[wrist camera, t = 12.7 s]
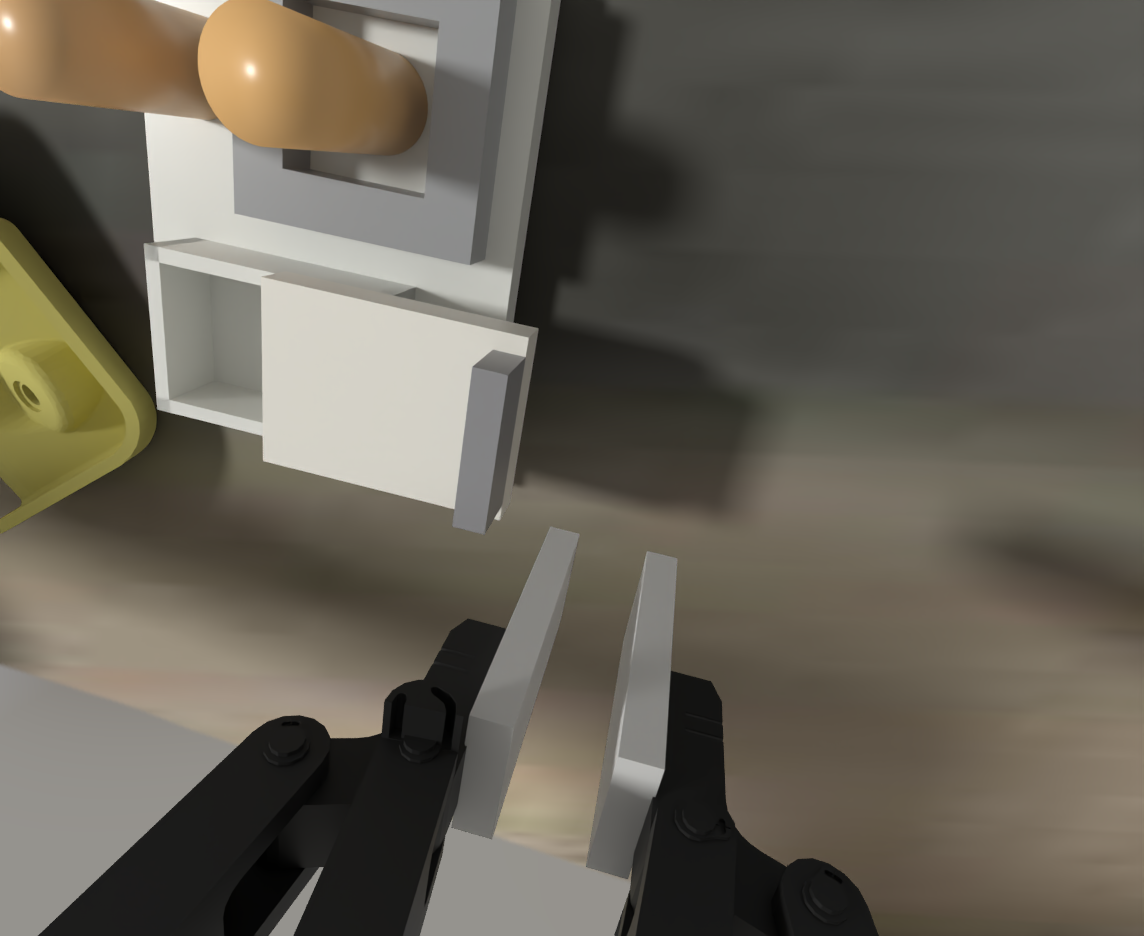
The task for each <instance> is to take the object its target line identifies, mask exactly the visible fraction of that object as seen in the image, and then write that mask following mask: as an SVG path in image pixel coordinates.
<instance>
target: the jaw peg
mask: <svg viewBox="0 0 1144 936" xmlns="http://www.w3.org/2000/svg"><path fill="white" fill-rule="evenodd" d="M198 71H199V77H200V81H201V85H202V88H203V91H204V94H205V96H206V99H207V101H208V103H209V105H210V107H211V108H212V110H213V112H214V113H215V115H216V116H217V118H218V119H219V120H220V121H221V122H222V124H223V125H224V126H225V127H226V128H227V129H228V130H229V131H231V132H232V133H233V134H234V135H236V136H237V137H238V138H240V139H242V140H244V141H246V142H248V143H250V144H253V145H257V146H261V147H270V148H285V149H299V150H313V151H327V152H341V153H356V154H370V155H384V156H391V155H397V154H400V153H402V152H404V151H406V150H408V149H409V148H411V147H412V146H413V145H414V144H415V143H416V142H417V140H418V139H419V138H420V136H421V134H422V132H423V130H424V127H425V125H426V120H427V114H428V101H427V94H426V90H425V87H424V84H423V82H422V79H421V77H420V76H419V74H418V72H417V71H416V69H415V68H414V67H413V65H412V64H411V63H410V62H409V61H408V60H406V59H405V58H404V57H403V56H401V55H399V54H398V53H396V52H393V51H391V50H388V49H386V48H383V47H381V46H379V45H376V44H374V43H371V42H369V41H366V40H364V39H362V38H359V37H357V36H354V35H352V34H349V33H347V32H345V31H342V30H340V29H337V28H335V27H332V26H330V25H327V24H325V23H323V22H320V21H318V20H315V19H313V18H310V17H308V16H306V15H303V14H301V13H298V12H296V11H293V10H291V9H289V8H286V7H284V6H281V5H279V4H276V3H274V2H272V1H269V0H228V1H226V2H224V3H223V4H222V5H220V6H219V7H218V8H217V9H216V10H215V11H214V12H213V13H212V14H211V16H210V17H209V18H208V20H207V22H206V24H205V26H204V28H203V30H202V33H201V36H200V41H199V46H198Z"/></svg>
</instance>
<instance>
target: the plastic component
mask: <svg viewBox="0 0 1144 936" xmlns="http://www.w3.org/2000/svg"><path fill="white" fill-rule="evenodd" d="M156 423H157V413H156V409H155V406H154V403H153V401H152V399H151V397H150V395H149V393H148V392H147V391H146V389H145V388H144V387H143V386H142V384H141V383H140V382H139V380H138V379H137V378H136V377H135V375H134V374H133V373H132V372H131V370H130V369H129V368H128V367H127V365H126V364H125V363H124V362H123V360H122V359H121V358H120V357H119V355H118V354H117V353H116V352H115V350H114V349H113V348H112V347H111V345H110V344H109V343H108V342H107V340H106V339H105V338H104V336H103V335H102V334H101V333H100V331H99V330H98V329H97V328H96V326H95V325H94V324H93V323H92V321H91V320H90V319H89V318H88V316H87V315H86V314H85V313H84V311H83V310H82V309H81V308H80V306H79V305H78V304H77V303H76V301H75V300H74V299H73V297H72V296H71V295H70V294H69V292H68V291H67V290H66V289H65V287H64V286H63V285H62V284H61V282H60V281H59V280H58V279H57V277H56V276H55V275H54V274H53V272H52V271H51V270H50V269H49V267H48V266H47V265H46V264H45V262H44V261H43V260H42V259H41V257H40V256H39V255H38V253H37V252H36V251H35V250H34V248H33V247H32V246H31V245H30V243H29V242H28V241H27V240H26V238H25V237H24V236H23V235H22V233H21V232H20V231H19V230H18V228H17V227H16V226H15V225H14V224H13V223H11V222H10V221H8V220H6V219H3V218H0V477H1V478H2V479H3V481H4V482H5V483H6V484H7V485H8V486H9V487H10V488H11V489H12V490H13V491H14V492H15V493H16V495H17V496H18V497H19V498H20V499H21V503H22V504H21V506H20V507H19V508H17V509H15V510H14V511H12V512H10V513H9V514H7V515H6V516H4V517H2V518H1V519H0V534H1V533H3V532H5V531H7V530H9V529H11V528H12V527H14V526H16V525H18V524H19V523H21V522H23V521H25V520H26V519H28V518H30V517H32V516H33V515H35V514H37V513H39V512H40V511H42V510H44V509H46V508H47V507H49V506H51V505H53V504H54V503H56V502H58V501H60V500H61V499H63V498H65V497H67V496H68V495H70V494H72V493H74V492H75V491H77V490H79V489H81V488H82V487H84V486H86V485H88V484H89V483H91V482H93V481H95V480H96V479H98V478H100V477H102V476H103V475H105V474H107V473H109V472H110V471H112V470H114V469H116V468H117V467H119V466H121V465H122V464H124V463H125V462H127V461H128V460H130V459H131V458H132V457H134V456H135V455H137V454H138V453H140V452H141V451H142V450H143V449H144V448H145V447H146V446H147V445H148V444H149V442H150V441H151V439H152V437H153V435H154V433H155V430H156Z"/></svg>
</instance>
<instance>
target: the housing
mask: <svg viewBox="0 0 1144 936" xmlns="http://www.w3.org/2000/svg"><path fill="white" fill-rule="evenodd" d="M226 1H228V0H0V90H1V91H3V92H5V93H7V94H9V95H11V96H15V97H18V98H24V99H33V100H41V101H50V102H58V103H67V104H75V105H84V106H92V107H101V108H110V109H118V110H127V111H135V112H144V113H145V126H146V139H147V153H148V166H149V179H150V192H151V206H152V219H153V232H154V243H145V244H144V252H145V264H146V276H147V288H148V301H149V313H150V325H151V337H152V350H153V362H154V374H155V386H156V398H157V410H161V411H165V412H169V413H173V414H177V415H181V416H185V417H189V418H193V419H197V420H201V421H205V422H209V423H213V424H217V425H221V426H225V427H230V428H234V429H238V430H242V431H246V432H250V433H254V434H258V435H262V436H263V410H262V325H261V277H262V276H267V275H271V274H275V273H280V272H284V271H287V272H291V273H296V274H300V275H305V276H309V277H314V278H318V279H322V280H327V281H331V282H336V283H340V284H345V285H349V286H353V287H358V288H362V289H367V290H371V291H376V292H380V293H384V294H389V295H393V296H398V297H402V298H406V299H411V300H415V301H420V302H424V303H429V304H433V305H437V306H442V307H446V308H451V309H455V310H460V311H464V312H468V313H473V314H477V315H482V316H486V317H490V318H495V319H499V320H504V321H508V322H514V315H515V308H516V302H517V295H518V288H519V281H520V274H521V268H522V261H523V254H524V247H525V241H526V234H527V227H528V220H529V213H530V207H531V200H532V193H533V186H534V179H535V173H536V166H537V159H538V152H539V145H540V139H541V132H542V125H543V118H544V111H545V105H546V98H547V91H548V84H549V78H550V71H551V64H552V57H553V50H554V44H555V37H556V30H557V23H558V16H559V10H560V3H561V0H269V1H272V2H274V3H276V4H279V5H281V6H284V7H286V8H289V9H291V10H293V11H296V12H298V13H301V14H303V15H306V16H308V17H310V18H313V19H315V20H318V21H320V22H323V23H325V24H327V25H330V26H332V27H335V28H337V29H340V30H342V31H345V32H347V33H349V34H352V35H354V36H357V37H359V38H362V39H364V40H366V41H369V42H371V43H374V44H376V45H379V46H381V47H383V48H386V49H388V50H391V51H393V52H396V53H398V54H399V55H401V56H403V57H404V58H405V59H406V60H408V61H409V62H410V63H411V64H412V65H413V67H414V68H415V69H416V71H417V72H418V74H419V76H420V77H421V79H422V82H423V84H424V87H425V90H426V94H427V101H428V114H427V120H426V125H425V127H424V130H423V132H422V134H421V136H420V138H419V139H418V140H417V142H416V143H415V144H414V145H413V146H412V147H411V148H409V149H408V150H406V151H404V152H402V153H400V154H397V155H391V156H384V155H370V154H356V153H341V152H327V151H313V150H299V149H285V148H270V147H261V146H257V145H253V144H250V143H248V142H246V141H244V140H242V139H240V138H238V137H237V136H236V135H234V134H233V133H232V132H231V131H229V130H228V129H227V128H226V127H225V126H224V125H223V124H222V122H221V121H220V120H219V119H218V118H217V116H216V115H215V113H214V112H213V110H212V108H211V107H210V105H209V103H208V101H207V99H206V96H205V94H204V91H203V88H202V85H201V81H200V77H199V71H198V46H199V41H200V36H201V33H202V30H203V28H204V26H205V24H206V22H207V20H208V18H209V17H210V16H211V14H212V13H213V12H214V11H215V10H216V9H217V8H218V7H219V6H220V5H222V4H223V3H224V2H226Z"/></svg>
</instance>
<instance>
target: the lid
mask: <svg viewBox="0 0 1144 936" xmlns="http://www.w3.org/2000/svg"><path fill="white" fill-rule="evenodd" d="M261 325H262V410H263V461H265V462H269V463H273V464H277V465H281V466H285V467H289V468H293V469H297V470H301V471H305V472H309V473H313V474H317V475H321V476H325V477H329V478H333V479H337V480H341V481H345V482H349V483H353V484H357V485H361V486H365V487H369V488H373V489H376V490H380V491H384V492H388V493H392V494H396V495H400V496H404V497H408V498H412V499H416V500H420V501H424V502H428V503H432V504H436V505H440V506H444V507H448V508H452V509H454V517H453V525H452V527H456V528H460V529H464V530H468V531H472V532H476V533H480V534H484V535H485V533H486V531H487V530H488V528H489V526H490V525H491V523H492V521H493V520H494V519H496V520H500V519H501V518H502V516H503V514H504V513H505V511H506V509H507V507H508V506H509V504H510V501H511V495H512V489H513V483H514V477H515V470H516V464H517V458H518V452H519V446H520V440H521V434H522V428H523V422H524V415H525V409H526V403H527V397H528V391H529V385H530V379H531V373H532V367H533V361H534V354H535V348H536V342H537V336H538V330H539V328H535V327H530V326H526V325H521V324H517V323H513V322H508V321H504V320H499V319H495V318H490V317H486V316H482V315H477V314H473V313H468V312H464V311H460V310H455V309H451V308H446V307H442V306H437V305H433V304H429V303H424V302H420V301H415V300H411V299H406V298H402V297H398V296H393V295H389V294H384V293H380V292H376V291H371V290H367V289H362V288H358V287H353V286H349V285H345V284H340V283H336V282H331V281H327V280H322V279H318V278H314V277H309V276H305V275H300V274H296V273H291V272H287V271H284V272H280V273H275V274H271V275H267V276H262V277H261Z"/></svg>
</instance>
